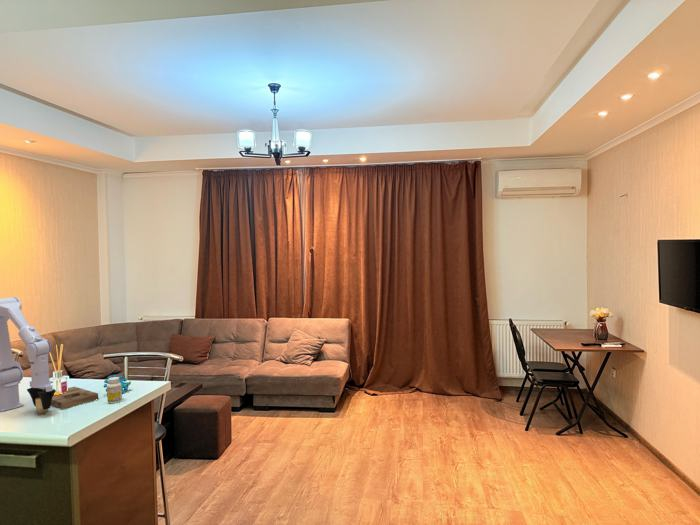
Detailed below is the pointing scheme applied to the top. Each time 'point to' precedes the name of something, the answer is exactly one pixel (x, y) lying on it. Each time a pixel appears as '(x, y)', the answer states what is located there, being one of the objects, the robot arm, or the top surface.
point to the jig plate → (73, 398)
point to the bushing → (40, 407)
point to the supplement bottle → (114, 390)
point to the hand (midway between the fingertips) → (42, 407)
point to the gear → (123, 385)
